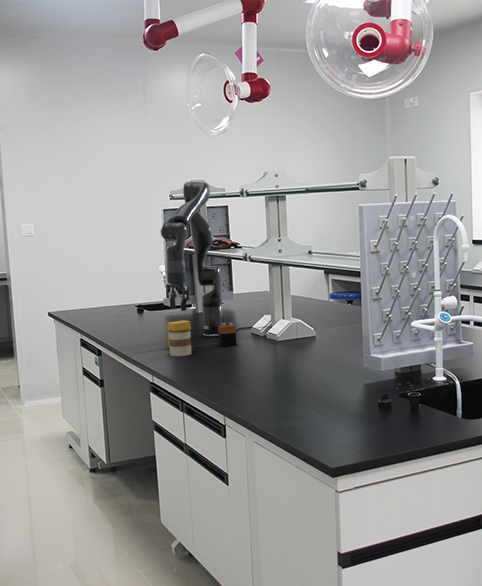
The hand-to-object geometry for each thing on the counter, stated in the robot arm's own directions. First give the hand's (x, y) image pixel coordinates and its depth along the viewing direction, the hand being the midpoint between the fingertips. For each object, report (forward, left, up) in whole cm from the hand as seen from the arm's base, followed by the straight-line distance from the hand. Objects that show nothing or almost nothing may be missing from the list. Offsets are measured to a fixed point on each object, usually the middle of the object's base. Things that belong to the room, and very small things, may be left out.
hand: (178, 309), depth 292 cm
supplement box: (-6, -13, -19) cm, 24 cm away
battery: (-24, 0, -19) cm, 31 cm away
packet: (0, 0, -8) cm, 8 cm away
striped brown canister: (0, 0, -19) cm, 19 cm away
